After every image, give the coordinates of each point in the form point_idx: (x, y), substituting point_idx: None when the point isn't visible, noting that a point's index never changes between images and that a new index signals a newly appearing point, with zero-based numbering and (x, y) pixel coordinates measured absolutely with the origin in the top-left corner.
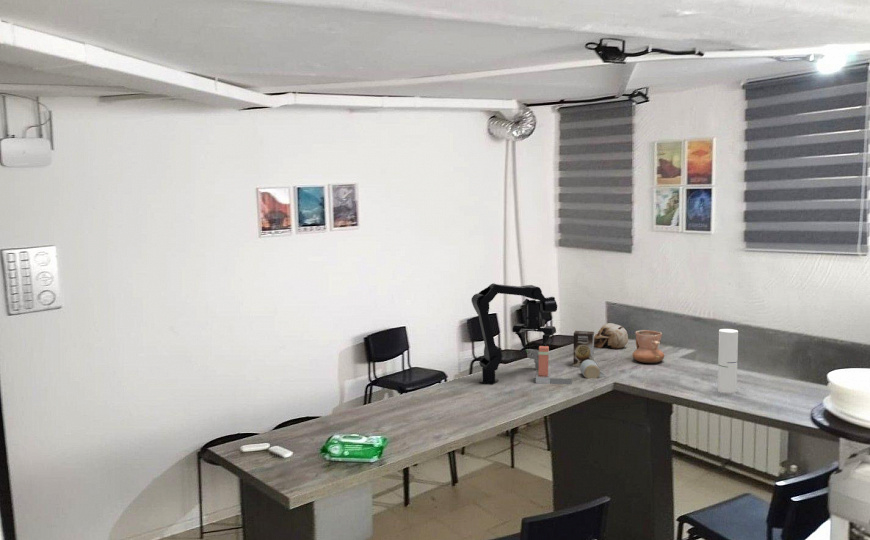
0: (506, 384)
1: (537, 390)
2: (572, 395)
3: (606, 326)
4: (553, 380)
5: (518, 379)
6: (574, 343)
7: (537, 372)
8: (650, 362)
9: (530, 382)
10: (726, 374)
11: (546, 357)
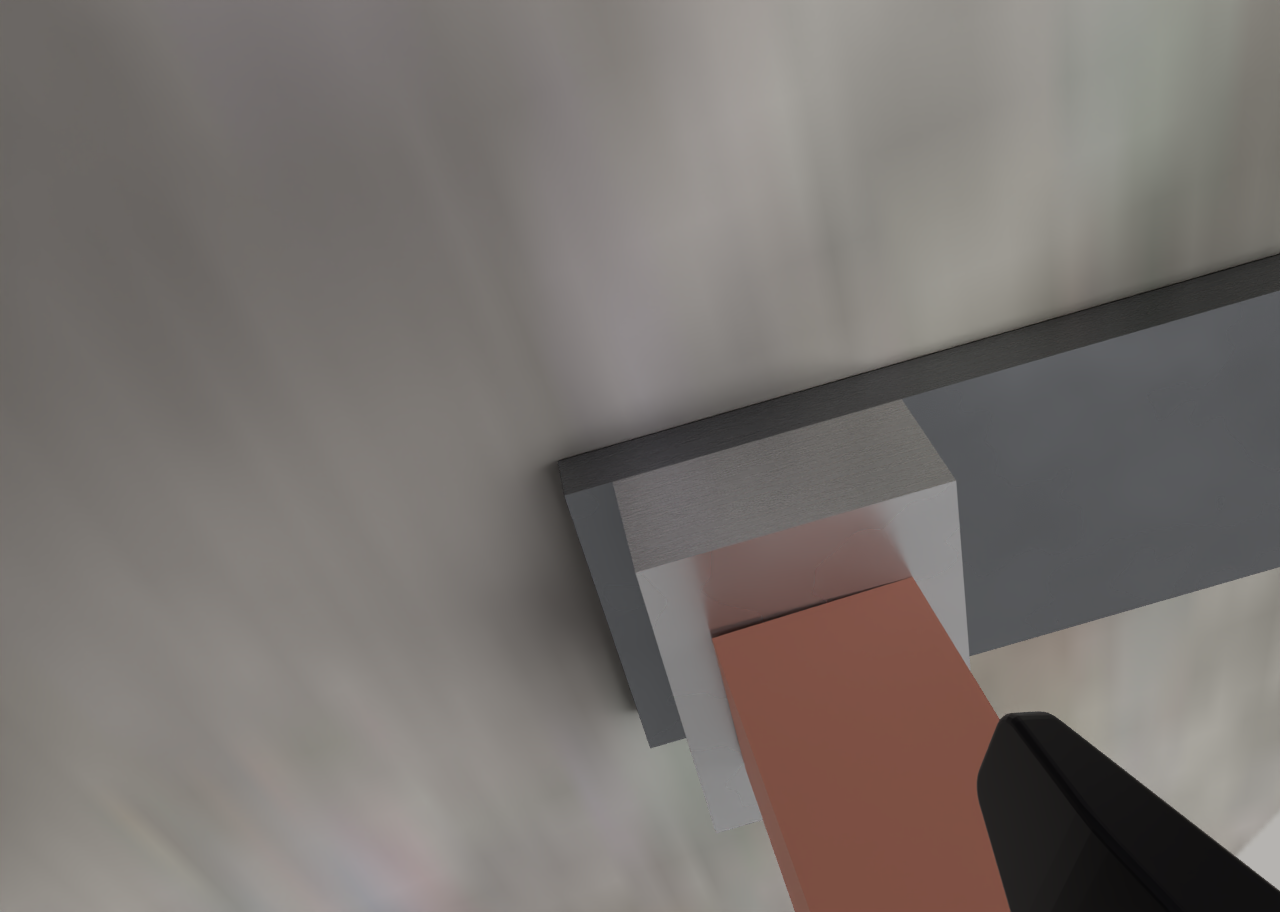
0: (168, 813)
1: (760, 836)
2: (1234, 811)
3: None
4: (972, 497)
5: (197, 505)
6: None
7: (666, 607)
8: None
9: (521, 578)
10: None
11: None
